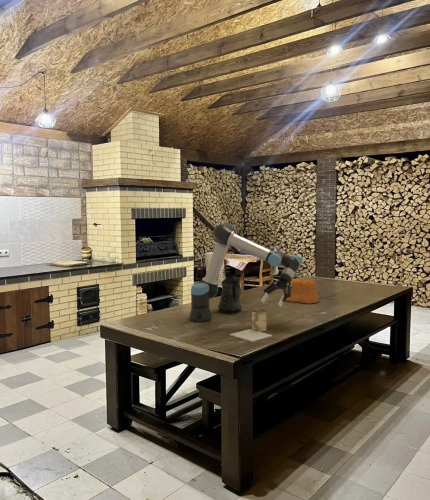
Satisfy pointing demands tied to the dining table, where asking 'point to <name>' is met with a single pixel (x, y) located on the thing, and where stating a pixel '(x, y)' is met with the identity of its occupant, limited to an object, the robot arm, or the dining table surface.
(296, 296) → the bread
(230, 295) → the beer stein
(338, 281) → the dining table surface
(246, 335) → the felt mat
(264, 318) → the oak block
